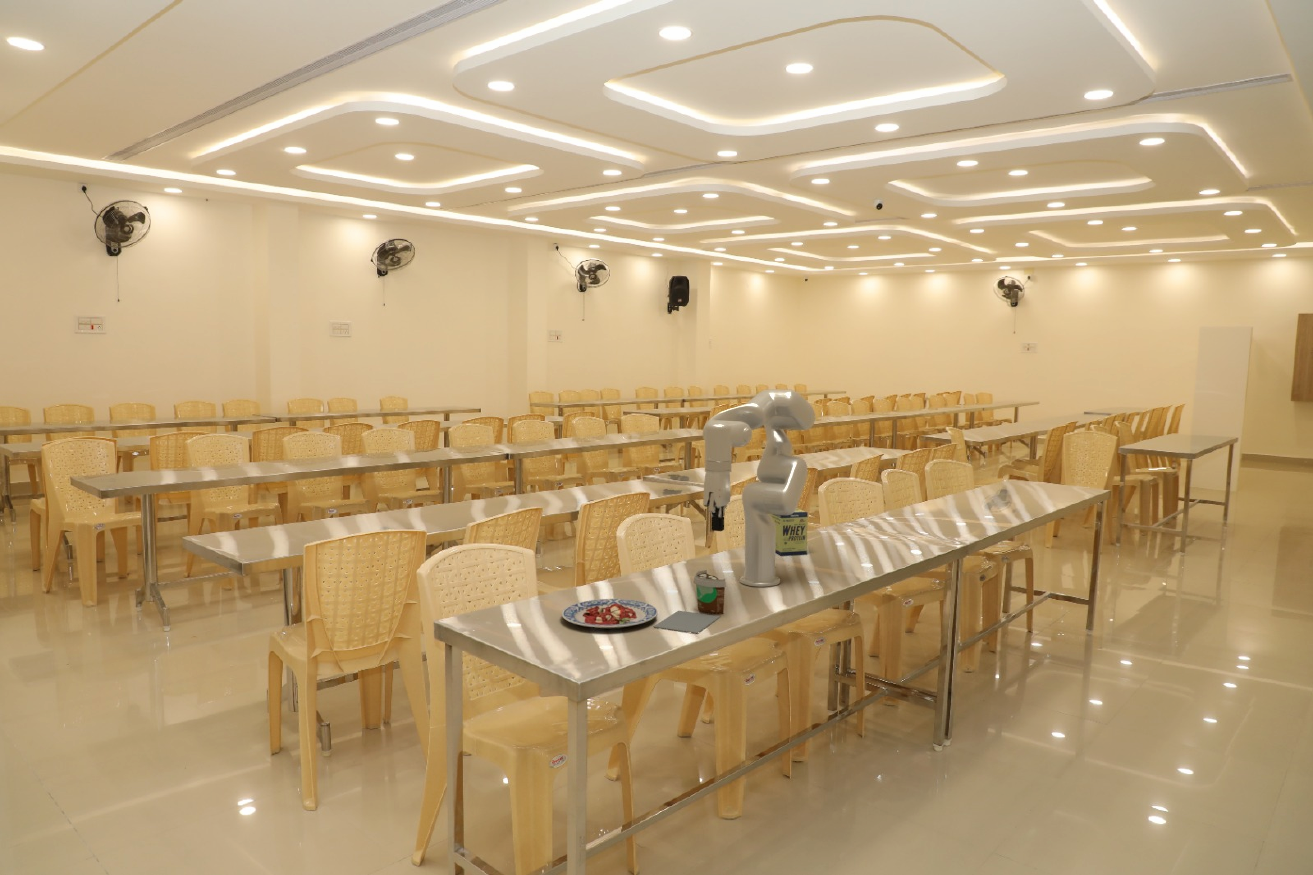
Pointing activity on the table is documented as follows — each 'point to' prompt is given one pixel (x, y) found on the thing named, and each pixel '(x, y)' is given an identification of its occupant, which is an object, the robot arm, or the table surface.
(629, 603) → the ceramic plate
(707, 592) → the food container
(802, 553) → the protein box
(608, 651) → the table surface
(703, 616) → the mat
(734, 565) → the table surface
